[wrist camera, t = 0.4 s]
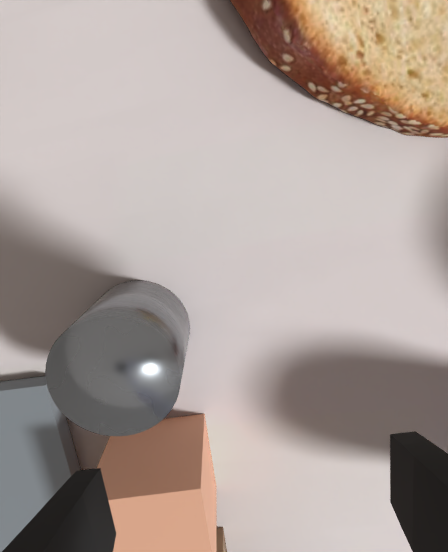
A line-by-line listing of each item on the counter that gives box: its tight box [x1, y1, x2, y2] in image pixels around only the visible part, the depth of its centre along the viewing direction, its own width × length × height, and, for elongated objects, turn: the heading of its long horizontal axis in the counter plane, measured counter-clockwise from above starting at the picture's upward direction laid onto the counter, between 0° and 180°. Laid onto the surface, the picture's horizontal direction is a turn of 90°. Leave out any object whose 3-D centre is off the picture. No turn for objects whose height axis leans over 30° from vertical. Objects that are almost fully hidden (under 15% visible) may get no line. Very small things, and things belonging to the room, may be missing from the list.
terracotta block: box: [96, 414, 216, 552], centre depth 17 cm, size 5×5×5 cm
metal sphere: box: [45, 280, 190, 436], centre depth 15 cm, size 5×5×5 cm
